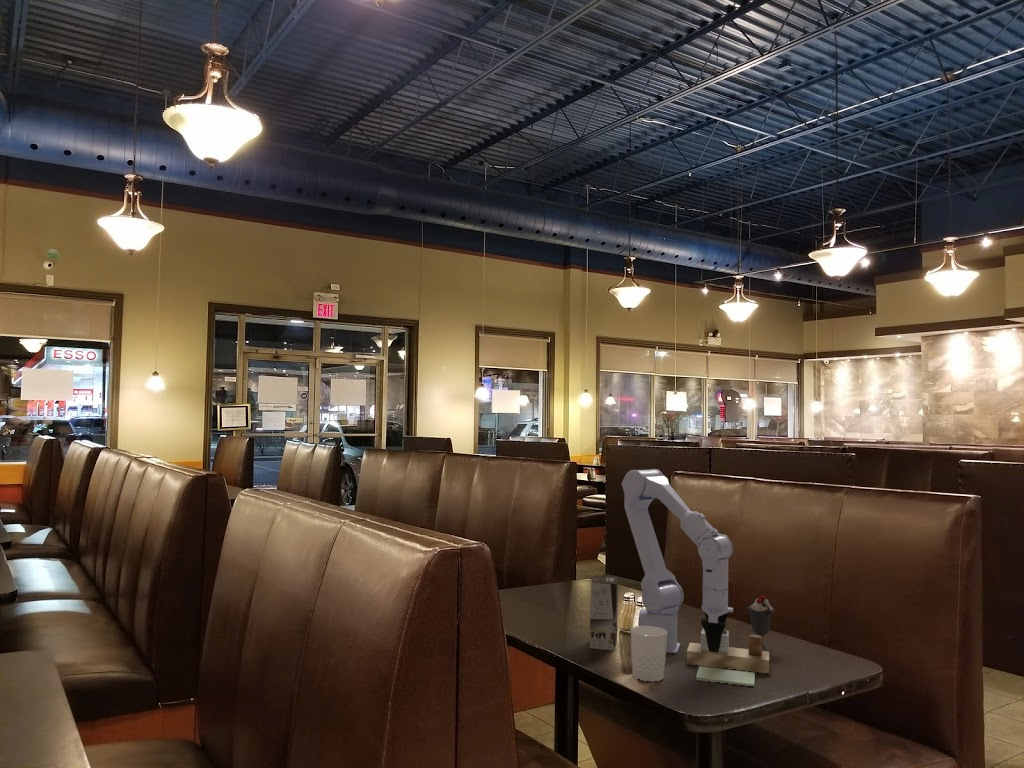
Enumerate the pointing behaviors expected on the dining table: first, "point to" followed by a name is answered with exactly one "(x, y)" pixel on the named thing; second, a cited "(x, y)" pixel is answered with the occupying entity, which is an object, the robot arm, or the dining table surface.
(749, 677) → the board
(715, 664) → the panel with round knob
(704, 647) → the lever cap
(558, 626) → the dining table surface
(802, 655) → the dining table surface
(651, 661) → the white cup
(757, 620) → the sundae
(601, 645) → the coffee box
